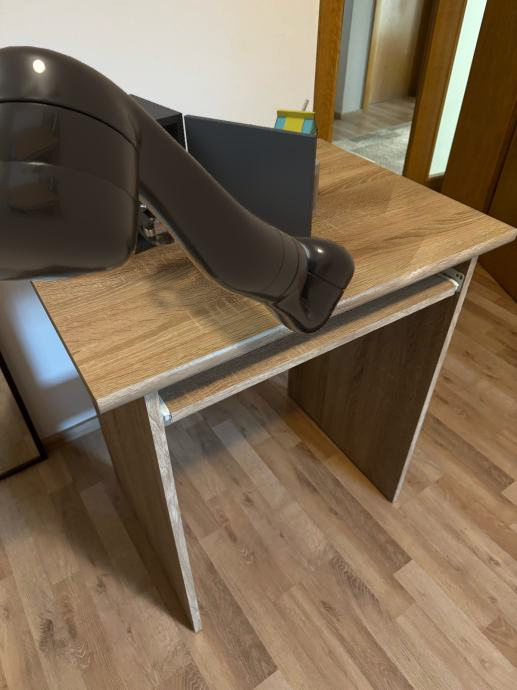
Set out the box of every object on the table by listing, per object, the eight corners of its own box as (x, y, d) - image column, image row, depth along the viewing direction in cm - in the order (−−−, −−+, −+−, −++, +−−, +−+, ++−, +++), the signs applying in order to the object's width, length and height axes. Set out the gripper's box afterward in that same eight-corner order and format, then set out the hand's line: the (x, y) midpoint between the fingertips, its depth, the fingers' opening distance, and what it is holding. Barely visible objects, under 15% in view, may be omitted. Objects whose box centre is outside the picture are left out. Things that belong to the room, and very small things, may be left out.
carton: (316, 193, 101) (322, 99, 90) (306, 209, 96) (311, 111, 84) (281, 189, 103) (283, 96, 91) (270, 204, 98) (270, 108, 86)
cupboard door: (214, 218, 93) (205, 105, 80) (322, 245, 85) (332, 124, 72) (196, 232, 89) (183, 115, 76) (307, 261, 81) (314, 136, 68)
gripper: (261, 190, 64) (188, 157, 74) (168, 225, 57) (102, 184, 67) (262, 241, 69) (194, 204, 79) (177, 279, 62) (114, 233, 72)
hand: (152, 195), depth 73 cm, fingers closed on pill bottle, 6 cm apart
